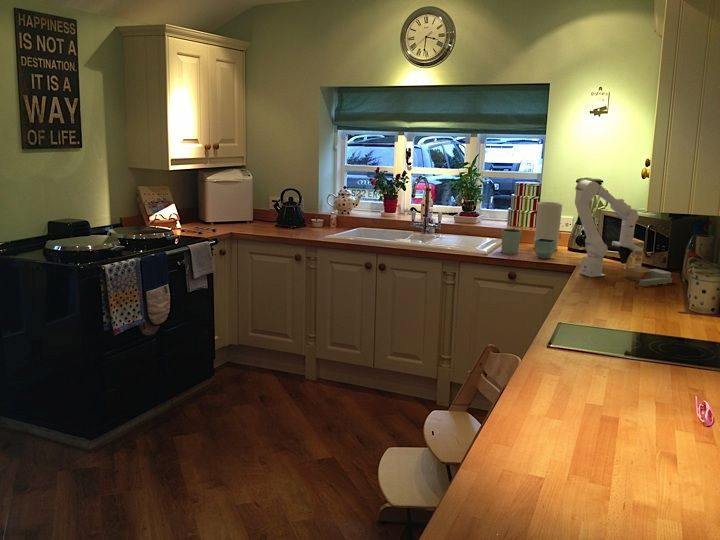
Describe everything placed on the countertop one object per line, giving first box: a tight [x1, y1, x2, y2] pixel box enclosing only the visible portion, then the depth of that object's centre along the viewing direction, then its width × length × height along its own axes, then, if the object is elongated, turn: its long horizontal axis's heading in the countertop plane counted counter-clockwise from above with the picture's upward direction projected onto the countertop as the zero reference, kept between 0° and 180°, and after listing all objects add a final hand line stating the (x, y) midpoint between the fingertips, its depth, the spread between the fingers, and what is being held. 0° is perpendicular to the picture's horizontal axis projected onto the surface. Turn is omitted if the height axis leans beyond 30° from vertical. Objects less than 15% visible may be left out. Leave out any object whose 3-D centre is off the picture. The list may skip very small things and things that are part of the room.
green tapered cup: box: [501, 228, 522, 255], centre depth 364 cm, size 10×10×12 cm
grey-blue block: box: [646, 268, 672, 279], centre depth 316 cm, size 6×8×4 cm
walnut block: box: [625, 268, 650, 282], centre depth 317 cm, size 6×8×4 cm
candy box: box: [623, 237, 645, 271], centre depth 332 cm, size 9×4×15 cm, turn 8°
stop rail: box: [638, 277, 674, 287], centre depth 308 cm, size 18×2×2 cm, turn 117°
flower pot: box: [534, 238, 556, 259], centre depth 356 cm, size 9×9×9 cm
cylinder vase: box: [533, 201, 563, 252], centre depth 377 cm, size 12×12×25 cm
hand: (623, 263), depth 324 cm, fingers closed
